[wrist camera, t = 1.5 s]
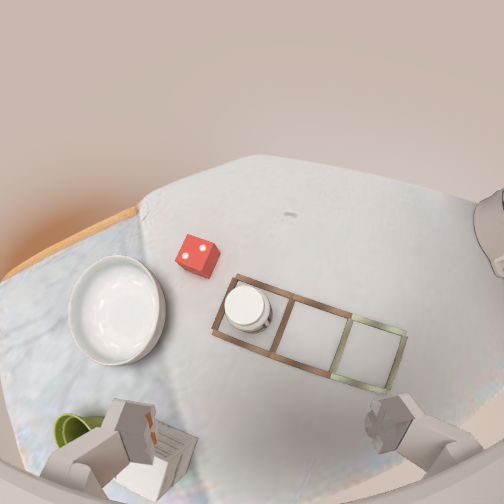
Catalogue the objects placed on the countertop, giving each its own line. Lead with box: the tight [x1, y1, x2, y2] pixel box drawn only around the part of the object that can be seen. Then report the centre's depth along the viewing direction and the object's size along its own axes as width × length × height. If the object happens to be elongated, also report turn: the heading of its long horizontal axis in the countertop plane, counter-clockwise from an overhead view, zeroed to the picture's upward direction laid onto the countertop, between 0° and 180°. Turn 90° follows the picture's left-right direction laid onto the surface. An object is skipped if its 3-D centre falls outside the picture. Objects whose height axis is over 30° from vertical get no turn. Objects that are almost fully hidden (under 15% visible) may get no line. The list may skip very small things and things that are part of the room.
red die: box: [175, 234, 220, 279], centre depth 45 cm, size 4×4×5 cm
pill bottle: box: [224, 286, 272, 333], centre depth 39 cm, size 6×6×10 cm
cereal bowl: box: [68, 255, 166, 366], centre depth 43 cm, size 17×17×7 cm
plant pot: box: [54, 413, 104, 449], centre depth 35 cm, size 9×9×9 cm
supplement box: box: [112, 421, 198, 502], centre depth 32 cm, size 7×7×13 cm
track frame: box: [211, 274, 408, 395], centre depth 41 cm, size 28×10×1 cm, turn 68°
